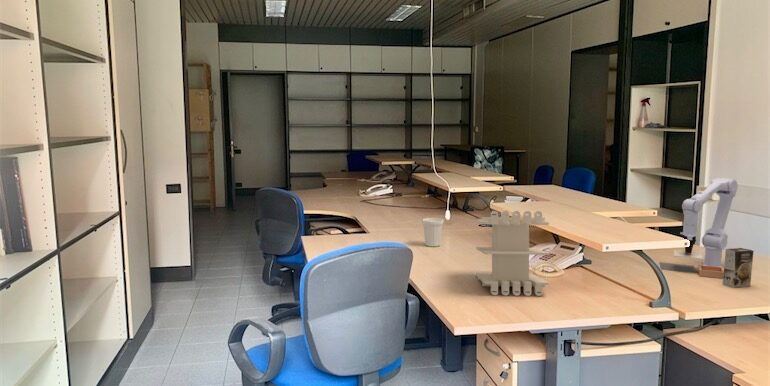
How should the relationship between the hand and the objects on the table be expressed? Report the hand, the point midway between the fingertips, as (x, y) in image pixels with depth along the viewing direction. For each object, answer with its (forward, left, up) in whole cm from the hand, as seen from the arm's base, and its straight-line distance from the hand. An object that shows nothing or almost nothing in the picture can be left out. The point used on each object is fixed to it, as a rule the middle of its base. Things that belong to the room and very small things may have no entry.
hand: (688, 252), depth 266 cm
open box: (+6, +10, -9) cm, 14 cm away
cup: (+5, -130, -9) cm, 131 cm away
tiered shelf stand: (+61, -71, -10) cm, 94 cm away
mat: (-2, -4, -9) cm, 10 cm away
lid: (0, 0, -2) cm, 2 cm away
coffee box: (+18, +19, -9) cm, 27 cm away
